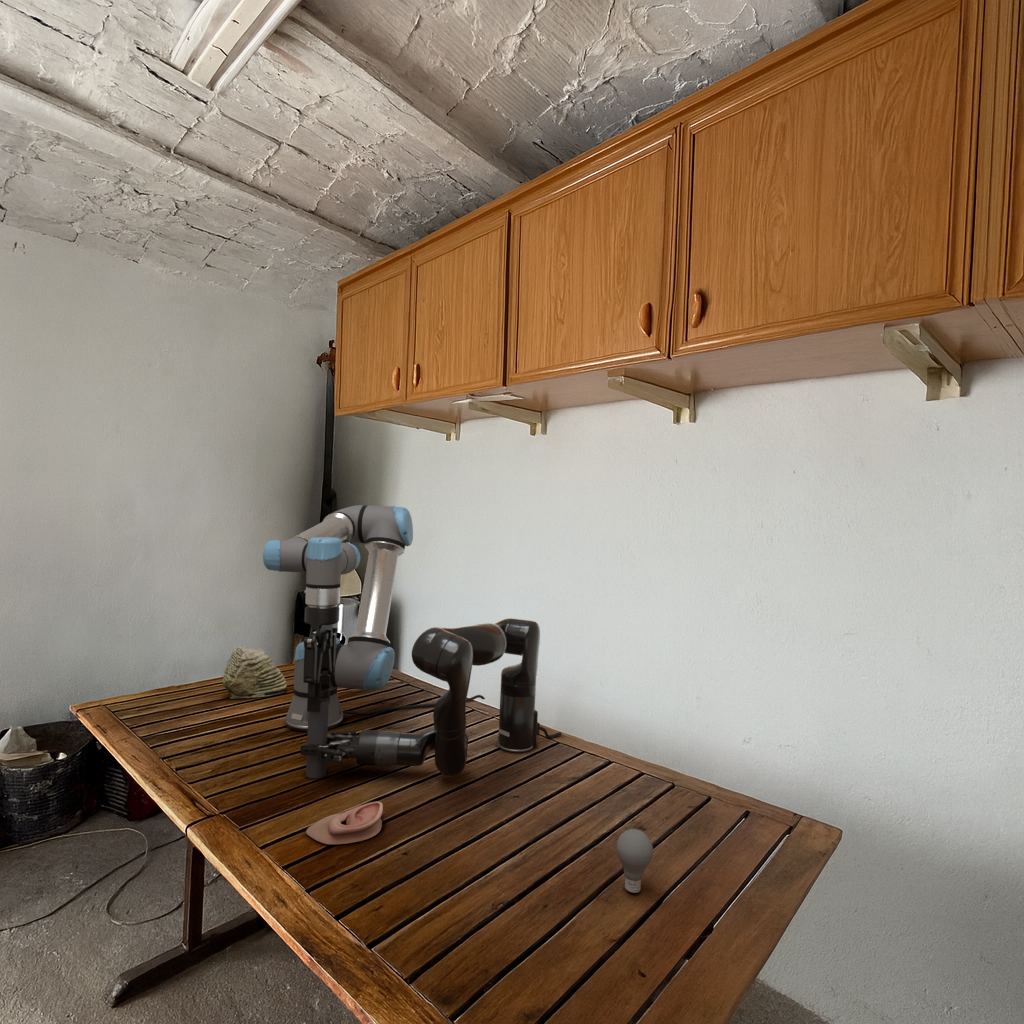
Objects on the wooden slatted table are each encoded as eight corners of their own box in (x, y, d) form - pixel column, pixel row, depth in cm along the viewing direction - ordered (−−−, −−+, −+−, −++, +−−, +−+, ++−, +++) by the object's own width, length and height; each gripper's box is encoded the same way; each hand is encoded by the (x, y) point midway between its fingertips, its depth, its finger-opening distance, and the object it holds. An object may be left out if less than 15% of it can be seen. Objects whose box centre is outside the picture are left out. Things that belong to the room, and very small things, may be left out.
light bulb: (610, 879, 108) (613, 822, 108) (644, 879, 109) (647, 822, 109) (619, 902, 102) (622, 840, 102) (655, 901, 103) (658, 840, 103)
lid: (334, 695, 145) (335, 686, 145) (318, 701, 141) (319, 692, 141) (319, 691, 147) (319, 683, 147) (302, 697, 143) (303, 688, 143)
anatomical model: (298, 818, 116) (328, 791, 128) (297, 839, 116) (327, 810, 128) (365, 829, 114) (390, 800, 125) (364, 851, 114) (389, 820, 125)
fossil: (218, 695, 195) (220, 647, 195) (278, 685, 208) (279, 640, 207) (228, 703, 189) (230, 653, 188) (289, 692, 201) (290, 645, 201)
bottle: (324, 778, 143) (327, 695, 142) (304, 778, 142) (307, 695, 142) (327, 769, 147) (330, 689, 147) (307, 770, 146) (310, 689, 146)
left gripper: (322, 598, 153) (318, 694, 153) (288, 611, 135) (284, 719, 136) (352, 600, 152) (348, 696, 153) (322, 613, 134) (318, 722, 135)
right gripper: (386, 720, 151) (314, 717, 151) (373, 743, 137) (294, 740, 137) (385, 752, 152) (313, 749, 151) (372, 778, 137) (293, 775, 137)
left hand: (318, 707), depth 144 cm, fingers closed on lid, 5 cm apart
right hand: (305, 745), depth 144 cm, fingers closed on bottle, 4 cm apart
